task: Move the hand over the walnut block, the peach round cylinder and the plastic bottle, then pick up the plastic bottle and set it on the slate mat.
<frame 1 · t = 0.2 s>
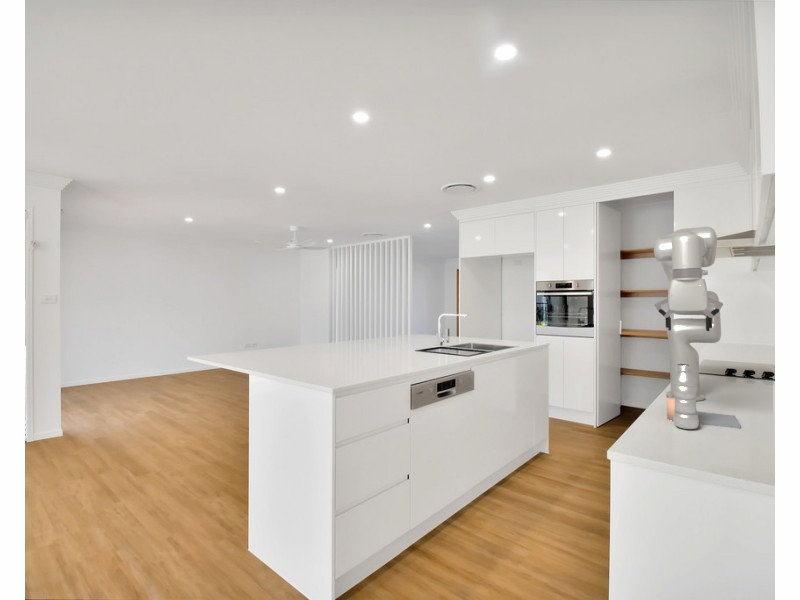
hand: (688, 330, 127), 31 cm above the table, tool pointing down, fingers open, 9 cm apart
slate mat: (714, 420, 135), on the table
walnut block: (680, 411, 146), on the table
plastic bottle: (686, 428, 128), on the table
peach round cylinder: (677, 419, 137), on the table
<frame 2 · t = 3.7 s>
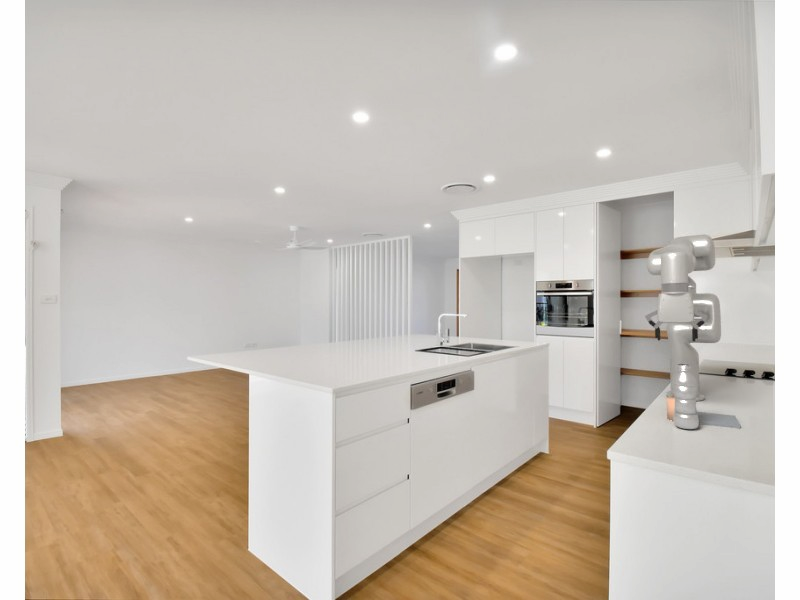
hand: (676, 340, 136), 27 cm above the table, tool pointing down, fingers open, 9 cm apart
nothing on the table moved.
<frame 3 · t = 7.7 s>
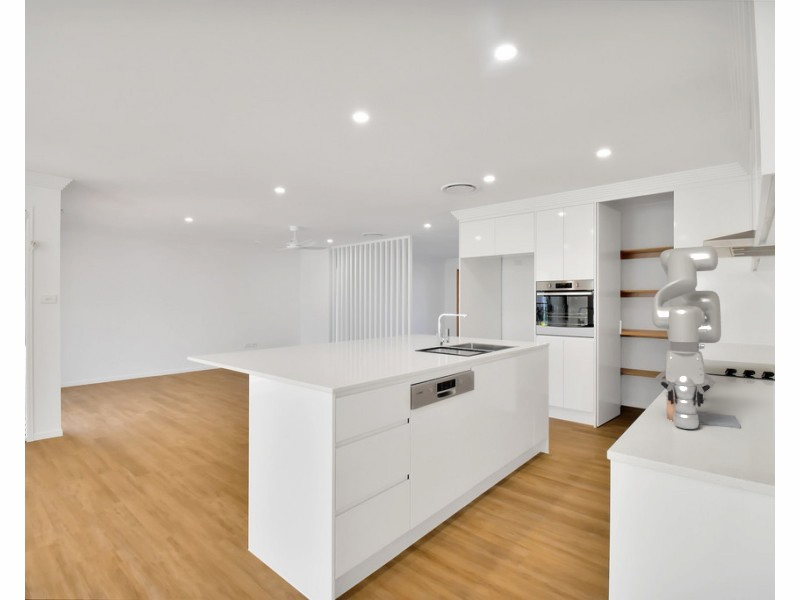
hand: (685, 403, 128), 8 cm above the table, tool pointing down, fingers closed on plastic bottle, 6 cm apart
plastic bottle: (686, 428, 128), on the table, touching gripper
everything else where it was.
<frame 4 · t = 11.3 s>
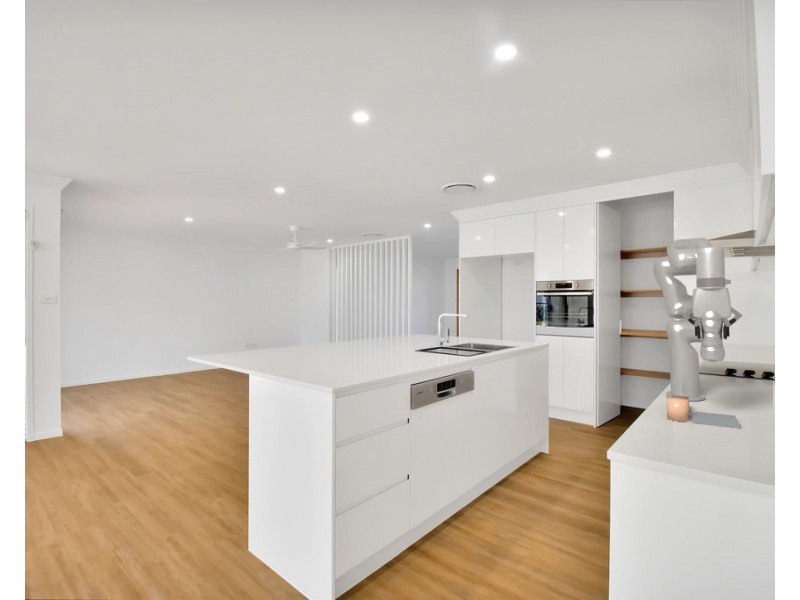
hand: (711, 338, 135), 27 cm above the table, tool pointing down, fingers closed on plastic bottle, 6 cm apart
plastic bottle: (712, 361, 135), point 19 cm above the table, touching gripper
everything else where it was.
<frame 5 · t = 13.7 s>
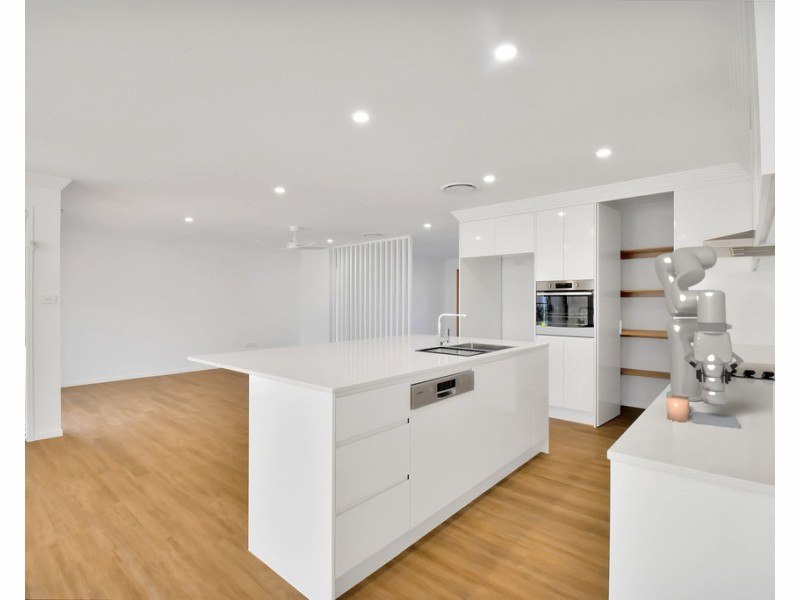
hand: (713, 381, 135), 13 cm above the table, tool pointing down, fingers closed on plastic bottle, 6 cm apart
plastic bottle: (713, 405, 135), point 5 cm above the table, touching gripper
everything else where it was.
when the fingers open (9 cm above the table, at t = 15.4 s): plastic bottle stays where it is, resting on slate mat.
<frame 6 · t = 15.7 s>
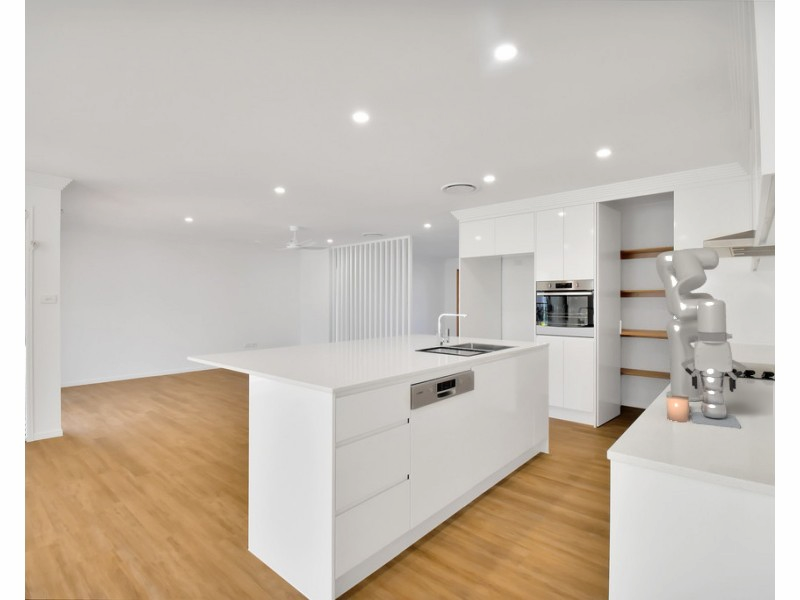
hand: (713, 389, 135), 10 cm above the table, tool pointing down, fingers open, 9 cm apart
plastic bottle: (713, 418, 135), point 1 cm above the table, touching slate mat
everything else where it was.
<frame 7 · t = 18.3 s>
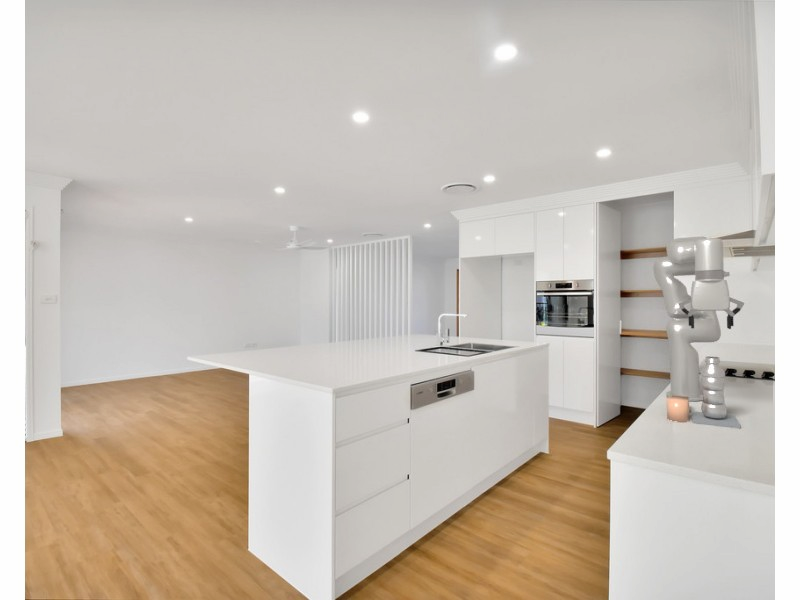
hand: (710, 328, 135), 30 cm above the table, tool pointing down, fingers open, 9 cm apart
nothing on the table moved.
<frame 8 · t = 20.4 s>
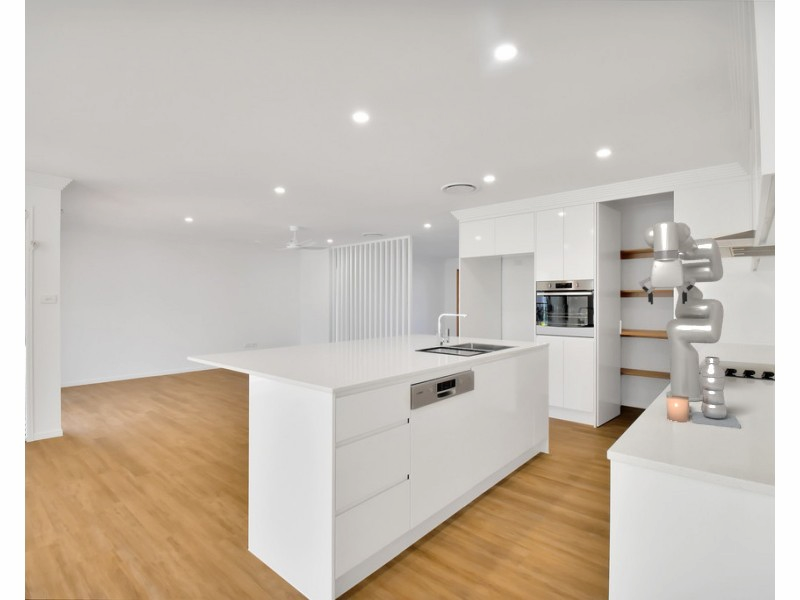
hand: (667, 304, 148), 38 cm above the table, tool pointing down, fingers open, 9 cm apart
nothing on the table moved.
at the end: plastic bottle inside the target area on the slate mat (0.1 cm from its centre), point 0.6 cm above the slate mat's base; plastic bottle tilted 0°; the gripper is holding nothing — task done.
